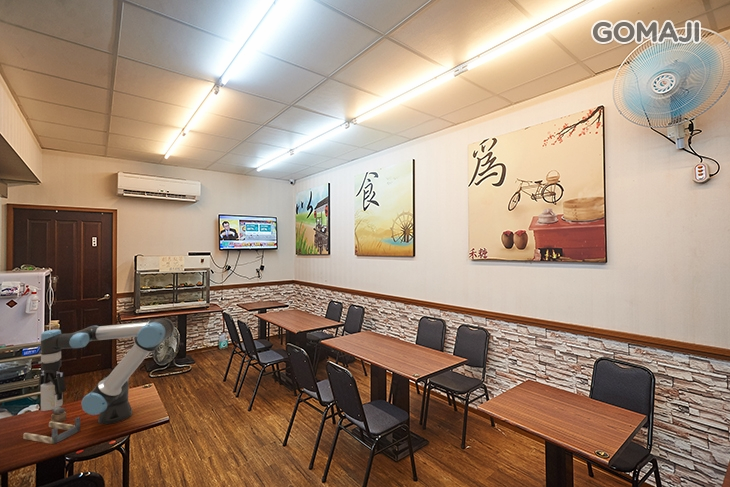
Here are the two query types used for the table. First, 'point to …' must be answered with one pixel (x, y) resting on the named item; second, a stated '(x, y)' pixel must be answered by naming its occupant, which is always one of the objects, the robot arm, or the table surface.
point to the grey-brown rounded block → (58, 415)
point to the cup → (48, 396)
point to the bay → (55, 432)
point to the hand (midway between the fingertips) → (52, 405)
